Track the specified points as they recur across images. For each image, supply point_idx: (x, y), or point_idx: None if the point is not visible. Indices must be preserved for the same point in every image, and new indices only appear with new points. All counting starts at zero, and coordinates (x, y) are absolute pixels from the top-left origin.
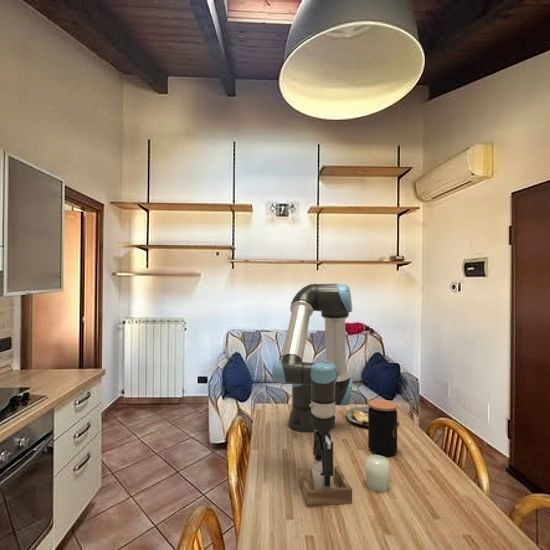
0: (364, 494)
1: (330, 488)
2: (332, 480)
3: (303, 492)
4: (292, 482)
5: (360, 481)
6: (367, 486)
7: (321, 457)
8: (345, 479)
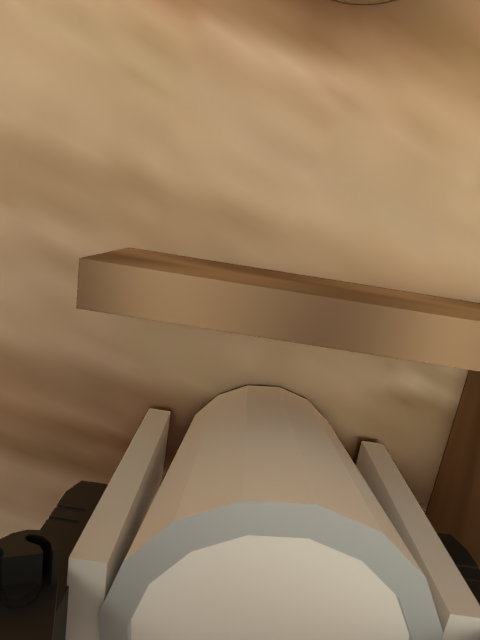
0: (461, 122)
1: (406, 487)
2: (332, 444)
3: None
4: None
5: (238, 27)
6: (359, 3)
7: (38, 628)
8: (416, 320)
